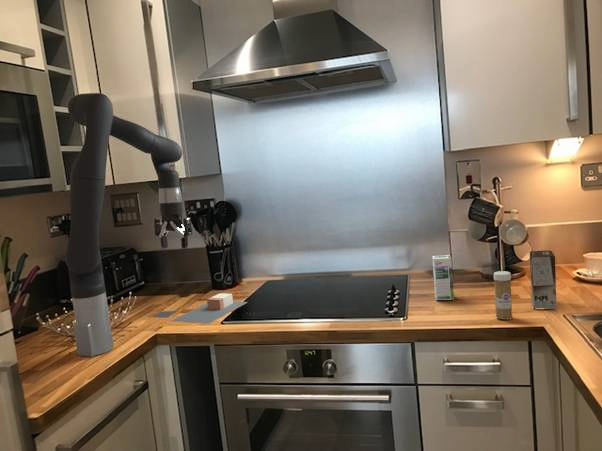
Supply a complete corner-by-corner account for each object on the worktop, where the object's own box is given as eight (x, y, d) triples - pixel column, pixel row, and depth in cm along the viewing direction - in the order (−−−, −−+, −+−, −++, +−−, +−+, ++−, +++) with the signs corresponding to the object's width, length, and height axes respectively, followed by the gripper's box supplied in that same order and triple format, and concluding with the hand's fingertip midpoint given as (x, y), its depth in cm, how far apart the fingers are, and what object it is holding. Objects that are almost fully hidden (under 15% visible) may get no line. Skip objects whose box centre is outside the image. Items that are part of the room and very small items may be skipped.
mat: (209, 324, 165) (208, 323, 165) (170, 322, 173) (170, 320, 173) (248, 303, 187) (248, 302, 187) (212, 301, 194) (212, 300, 194)
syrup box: (436, 301, 167) (433, 258, 165) (434, 296, 173) (432, 255, 171) (454, 301, 166) (451, 257, 164) (452, 296, 172) (449, 254, 170)
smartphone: (138, 325, 171) (160, 311, 186) (139, 328, 171) (161, 313, 186) (157, 325, 169) (177, 310, 184) (157, 327, 170) (178, 313, 184)
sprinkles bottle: (502, 321, 143) (500, 275, 141) (492, 317, 147) (490, 272, 145) (516, 319, 144) (514, 272, 142) (505, 314, 148) (503, 269, 147)
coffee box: (557, 310, 148) (555, 256, 146) (533, 309, 150) (531, 256, 148) (553, 301, 157) (551, 250, 155) (530, 300, 159) (528, 250, 157)
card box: (220, 302, 190) (219, 293, 189) (233, 303, 187) (232, 293, 187) (208, 309, 183) (206, 299, 182) (220, 309, 180) (219, 299, 180)
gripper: (194, 199, 173) (198, 246, 175) (161, 200, 179) (165, 246, 181) (180, 201, 166) (184, 250, 168) (146, 202, 173) (151, 249, 174)
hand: (174, 248), depth 175 cm, fingers open, 8 cm apart
